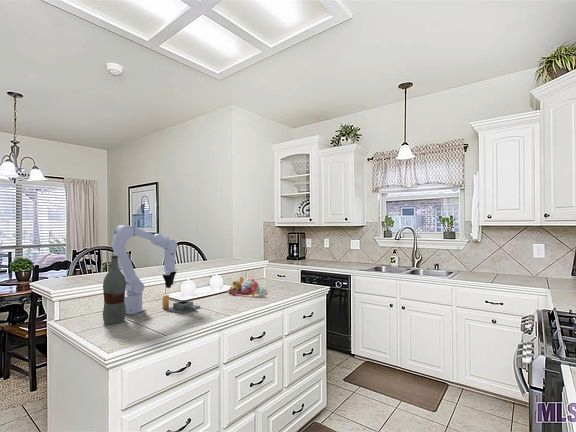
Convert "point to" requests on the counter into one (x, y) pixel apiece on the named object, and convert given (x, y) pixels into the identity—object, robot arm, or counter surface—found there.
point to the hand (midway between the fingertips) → (169, 286)
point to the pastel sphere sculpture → (247, 288)
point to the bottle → (114, 294)
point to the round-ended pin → (165, 302)
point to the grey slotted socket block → (183, 307)
